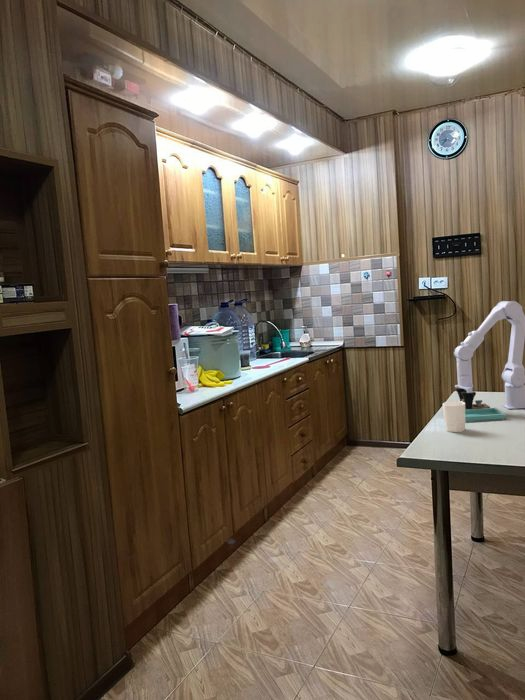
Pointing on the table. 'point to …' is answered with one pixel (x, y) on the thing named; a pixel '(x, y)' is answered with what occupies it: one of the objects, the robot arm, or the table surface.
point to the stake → (478, 403)
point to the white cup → (454, 416)
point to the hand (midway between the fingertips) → (466, 406)
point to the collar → (478, 407)
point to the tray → (483, 414)
